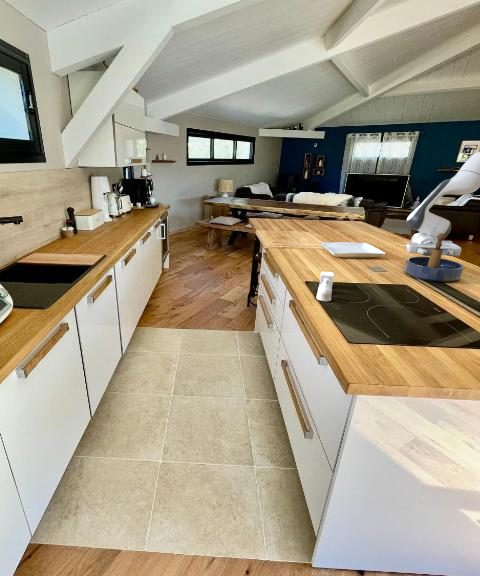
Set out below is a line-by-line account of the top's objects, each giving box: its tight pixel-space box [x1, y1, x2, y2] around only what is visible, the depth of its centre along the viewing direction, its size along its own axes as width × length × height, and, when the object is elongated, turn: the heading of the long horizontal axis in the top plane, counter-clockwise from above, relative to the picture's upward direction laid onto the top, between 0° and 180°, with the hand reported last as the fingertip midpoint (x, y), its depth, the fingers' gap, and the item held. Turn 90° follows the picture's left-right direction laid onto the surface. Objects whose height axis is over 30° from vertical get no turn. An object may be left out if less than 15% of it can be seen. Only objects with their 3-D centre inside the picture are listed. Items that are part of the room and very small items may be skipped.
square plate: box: [319, 241, 387, 259], centre depth 179 cm, size 27×27×4 cm
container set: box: [315, 271, 335, 302], centre depth 123 cm, size 20×5×6 cm, turn 156°
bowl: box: [403, 256, 465, 283], centre depth 140 cm, size 21×21×6 cm
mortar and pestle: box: [425, 233, 446, 269], centre depth 138 cm, size 7×6×18 cm
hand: (437, 253), depth 137 cm, fingers open, 8 cm apart
